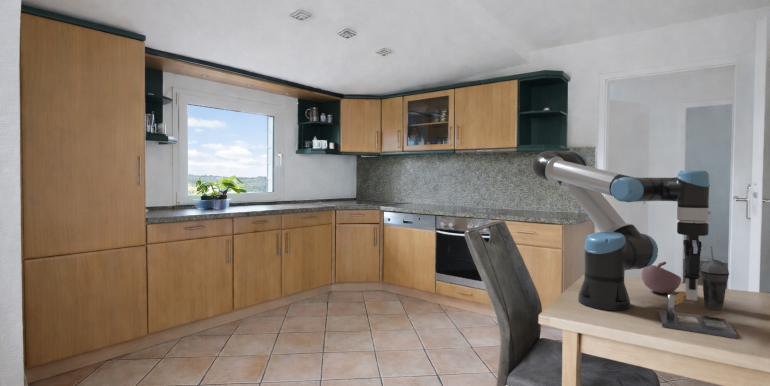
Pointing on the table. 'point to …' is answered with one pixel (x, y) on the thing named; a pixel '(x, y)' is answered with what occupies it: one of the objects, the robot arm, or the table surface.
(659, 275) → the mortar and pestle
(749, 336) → the table surface
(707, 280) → the beverage cup
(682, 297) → the wooden lever handle
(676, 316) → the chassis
